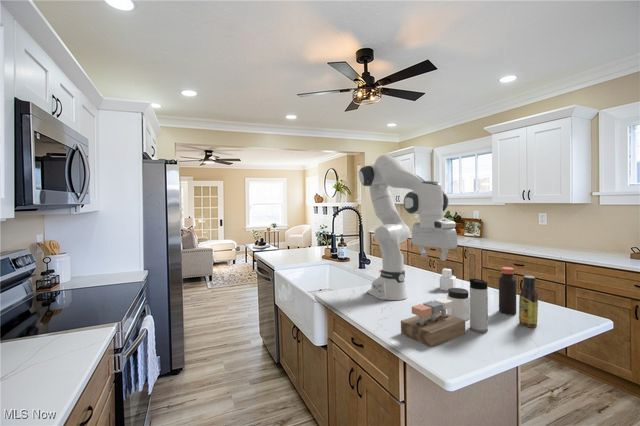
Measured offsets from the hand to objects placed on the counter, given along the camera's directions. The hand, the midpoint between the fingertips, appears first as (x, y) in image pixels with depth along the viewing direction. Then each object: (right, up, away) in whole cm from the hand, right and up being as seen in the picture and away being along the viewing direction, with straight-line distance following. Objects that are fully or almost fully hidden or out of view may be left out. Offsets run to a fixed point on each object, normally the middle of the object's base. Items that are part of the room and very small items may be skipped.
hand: (433, 258), depth 122 cm
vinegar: (+40, -27, +19) cm, 52 cm away
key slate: (-1, -25, -1) cm, 25 cm away
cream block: (+5, -24, +2) cm, 25 cm away
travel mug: (+18, -28, +1) cm, 34 cm away
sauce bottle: (+40, -28, +5) cm, 49 cm away
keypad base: (0, -29, -1) cm, 29 cm away
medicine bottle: (+29, -26, +57) cm, 69 cm away
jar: (+16, -28, +14) cm, 35 cm away
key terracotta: (-6, -25, -5) cm, 26 cm away
